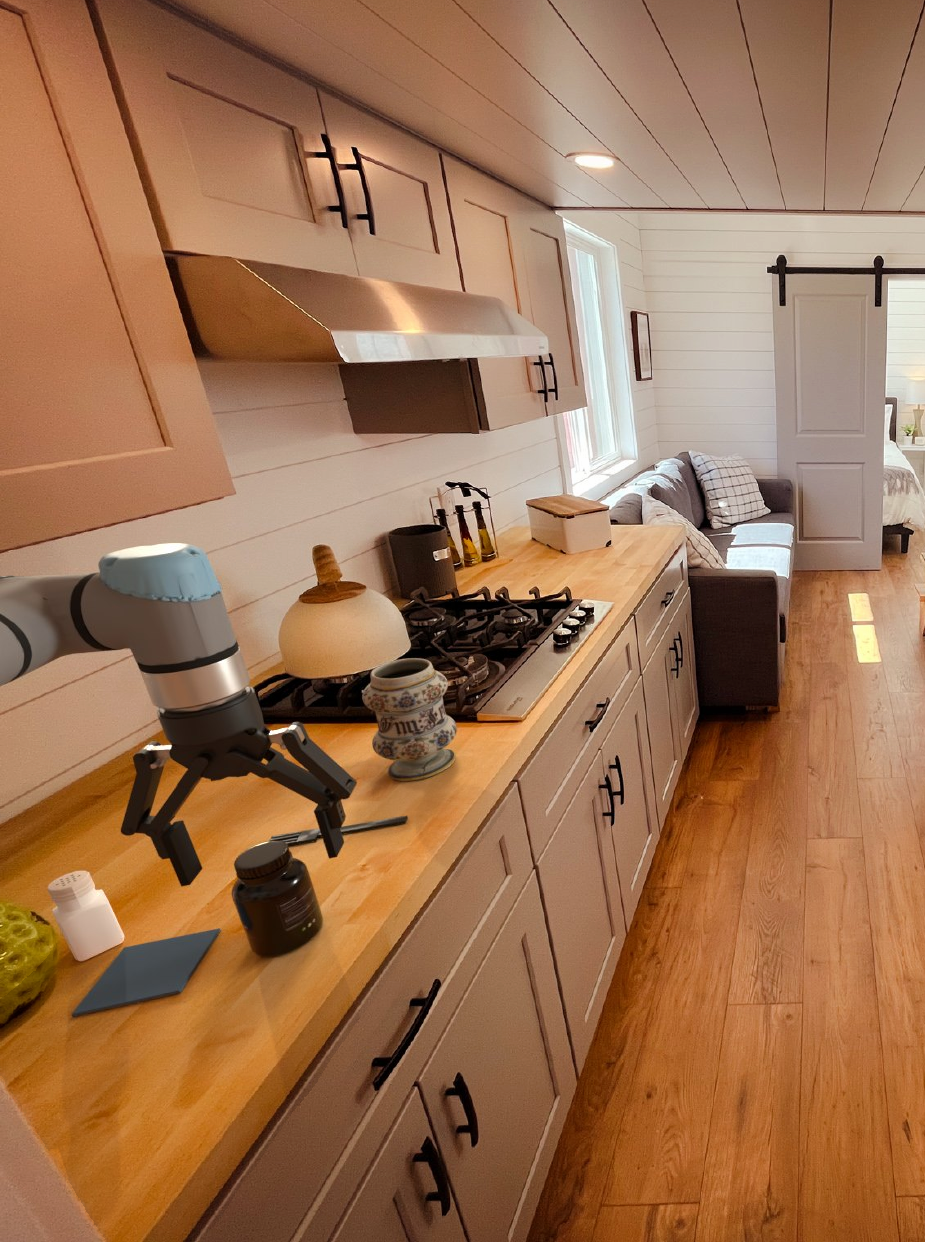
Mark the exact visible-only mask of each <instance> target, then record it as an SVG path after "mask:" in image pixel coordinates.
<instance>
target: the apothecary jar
mask: <svg viewBox="0 0 925 1242" xmlns="http://www.w3.org/2000/svg"><path fill="white" fill-rule="evenodd" d="M448 686H449V682H448V679H447V678H446V676H445V675H444V674H442V673H441V672H440V671H438V670H435V668H434V665H433V664H432V662H431V661H429V660H428V659H424V658H417V657H414V658H413V657H411V658H409V657H408V658H402V659H395V660H391V661H388V662H385V663H382V664H380V665H378V666H376V667H374V668H373V669H372V670H371V671H370V683H368V685H366V687H365V688H364V690H363V691H362V696H361V699H362V702H363V704H364V706H365V707H366V708H367V709H369V710H372V711H374V713H375V717H376V723H377V728H378V729H377V730H376V732H375V734H374V735H373V738H372V742H371V746H372V749H373V751H374V753H375V754H376V755H377V756H379V757H380V758H384V759H387V760H389V761H393V762H392V764H391V765H390V766H389V768H388V770H387V774H388V776H389V777H390V779H392V780H395V781H399V782H411V781H413V782H414V781H420V780H425V779H427V778H430V777H433V776H436V775H438V774H440V773H442V772H444V771H445V770H447V769H449V768H450V767H451V766H452V765H453V764H454V762H455V761H456V757H457V756H456V753H455V752H454V750H452V749H448V748H447V747H448V746H449V745H450V744H451V743H452V742H453V741H454V739H455V737H456V736H457V732H458V726H457V725H458V724H457V723H456V721H455V720H454V719H453V718H452V717H451V716H450V715H448V714H447V712H446V709H445V704H444V699H443V696H444V695H445V694H446V692H447V690H448Z"/></svg>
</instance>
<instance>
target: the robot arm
mask: <svg viewBox="0 0 925 1242" xmlns="http://www.w3.org/2000/svg"><path fill="white" fill-rule="evenodd" d="M97 565H98V570H99V572H87V573H86V572H85V573H66V574H65V573H64V574H47V575H46V574H45V575H28V576H25V575H17V576H15V575H2V576H1V575H0V687H3V686H5V685H7V684H9V683H12V682H13V681H15V680H16V681H17V680H18V679H20V678H22V677H24V676H26V675H28V674H29V673H32V672H34V671H35V670H37V669H40V668H42V667H44V666H46V665H48V664H49V663H51V662H53V661H56V660H57V659H59V658H62V657H67V656H70V655H78V654H87V653H99V652H112V651H121V650H126V649H127V650H128V649H129V650H130V652H131V653H132V656H133V659H134V660H135V663H136V664H137V667H138V669H139V673H140V675H141V677H142V679H143V683H144V685H145V687H146V690H147V693H148V696H149V698H150V701H151V704H152V705H153V706H154V707H155V708H158V710H157V711H156V715H157V718H158V720H159V723H160V726H161V728H162V731H163V734H164V736H165V738H166V740H167V742H169V743H170V744H165V745H162V744H161V743H160V742H159V741H153V740H152V741H149V742H148V743H146V744H145V745H144V746H143V747H142V748H141V749H139V750H138V751H137V752H136V753H135V754H134V755H133V756H132V761H133V766H134V769H135V773H136V775H135V778H134V782H133V784H132V788H131V792H130V795H129V799H128V802H127V806H126V809H125V812H124V816H123V820H122V823H121V827H120V833H121V834H122V835H123V836H129V837H130V836H133V835H135V834H143V835H146V836H147V837H149V838H150V839H151V842H152V844H153V846H154V849H155V851H156V854H157V856H158V857H159V858H160V859H161V860H168V859H169V862H170V863H171V866H172V867H173V868H172V869H173V870H174V873H175V875H176V877H177V879H178V882H179V885H180V887H186V886H187V887H188V886H191V884H192V883H193V882H194V880H195V879H196V878H197V877H198V875H199V874H200V872H202V870H203V866H202V862H201V861H200V858H199V856H198V854H197V851H196V848H195V846H194V844H193V841H192V839H191V836H190V834H189V832H188V829H187V827H186V824H185V822H184V820H176V821H174V822H173V823H172V821H173V820H174V819H175V818H176V815H177V814H178V812H179V811H180V810H181V808H182V807H183V805H184V804H185V802H186V801H187V800H188V799H189V797H190V795H191V794H192V792H193V791H194V790H195V789H196V787H197V785H198V784H199V783H200V781H201V780H202V778H203V779H207V780H210V781H211V782H216V781H221V780H224V779H226V778H242V777H248V775H249V774H253V775H255V776H257V777H258V778H261V779H269V780H271V781H273V782H275V783H277V784H279V785H281V786H282V787H285V788H286V789H288V790H289V791H292V792H294V793H296V794H298V795H300V796H301V797H304V798H305V799H307V800H309V801H311V802H313V803H315V804H317V805H316V807H315V809H314V810H313V813H314V816H315V819H316V822H317V825H318V828H319V829H320V832H321V835H322V837H321V838H322V841H323V845H324V848H325V850H326V853H327V857H328V859H335V858H338V856H339V854H340V852H341V851H342V850H341V849H342V848H343V845H344V844H345V839H344V837H343V836H344V835H342V833H341V830H340V828H341V827H342V826H344V823H345V821H346V818H347V816H346V812H345V808H344V806H343V802H342V800H348V799H349V798H351V795H352V793H353V792H354V790H355V787H356V786H357V780H356V779H355V778H354V777H353V776H351V775H350V774H349V773H348V772H347V771H346V770H345V769H344V768H343V767H342V766H340V764H338V762H336V760H334V759H333V758H332V757H331V756H330V755H329V754H327V753H326V751H325V750H323V749H322V748H321V747H320V746H319V745H318V744H317V743H316V742H315V741H313V740H312V739H311V738H310V736H309V734H308V732H307V730H306V728H305V726H304V724H303V722H300V721H294V722H291V723H290V724H289V726H288V727H284V728H280V729H279V728H278V729H276V730H270V729H269V727H267V726H266V724H265V722H264V716H263V715H264V714H263V711H262V709H261V706H260V703H259V700H258V697H257V695H256V691H255V688H254V687H252V686H250V684H251V677H250V674H249V671H248V668H247V665H246V663H245V660H244V656H243V654H242V651H241V648H240V646H239V642H238V640H237V638H236V635H235V632H234V628H233V626H232V622H231V619H230V616H229V613H228V610H227V605H226V603H225V599H224V596H223V591H222V590H223V587H222V584H221V582H220V581H219V580H218V578H217V576H216V574H215V571H214V569H213V566H212V564H211V562H210V560H209V558H208V555H207V554H206V552H205V551H204V550H203V549H202V548H200V547H199V546H196V545H195V544H194V545H193V544H190V543H184V542H183V543H182V542H170V543H157V544H153V545H152V544H151V545H140V546H138V545H137V546H133V547H128V548H127V547H126V548H122V549H119V550H115V551H112V552H109V553H107V554H105V555H103V556H102V557H101V558H100V559H99V561H98V564H97ZM272 744H276V745H278V746H279V748H280V749H281V750H283V751H285V750H287V752H288V753H289V755H290V756H291V757H292V758H293V759H294V760H295V761H297V763H299V764H300V765H301V766H300V765H298V764H297V763H294V762H292V761H291V760H289V759H287V758H286V757H285V756H284V754H283V753H282V752H280V751H279V750H277V749H274V748H273V747H271V746H272ZM170 759H171V760H172V761H174V762H175V763H177V764H179V766H182V767H184V768H185V769H187V770H186V771H185V772H184V774H183V775H182V776H181V778H180V780H179V781H178V782H177V783H176V786H175V787H174V789H173V790H172V792H171V793H170V794H169V796H168V797H167V799H166V800H165V802H164V803H163V804H162V806H161V807H160V809H159V810H158V811H157V813H156V814H155V815H151V813H152V809H153V806H154V803H155V799H156V796H157V792H158V789H159V786H160V782H161V779H162V775H163V771H164V768H165V765H166V764H167V763H168V762H169V761H170ZM263 760H265V761H266V762H267V763H263Z"/></svg>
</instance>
